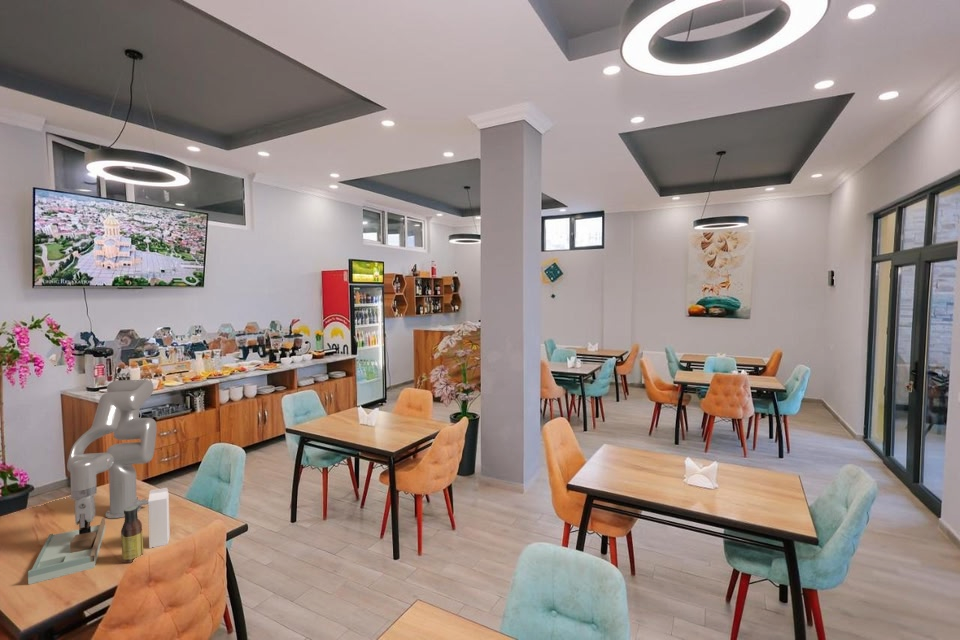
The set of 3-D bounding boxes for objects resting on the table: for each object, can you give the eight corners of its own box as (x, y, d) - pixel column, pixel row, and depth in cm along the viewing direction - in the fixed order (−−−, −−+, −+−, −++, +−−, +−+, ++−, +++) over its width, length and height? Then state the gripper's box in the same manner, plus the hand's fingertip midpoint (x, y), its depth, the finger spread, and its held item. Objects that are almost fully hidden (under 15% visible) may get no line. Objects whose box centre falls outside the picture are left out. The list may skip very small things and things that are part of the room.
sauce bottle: (130, 554, 168) (128, 503, 167) (147, 554, 169) (146, 503, 168) (117, 564, 162) (116, 511, 161) (135, 564, 162) (134, 511, 161)
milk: (167, 544, 175) (166, 490, 174) (148, 548, 172) (147, 493, 171) (169, 537, 180) (168, 484, 179) (151, 541, 177) (150, 487, 176)
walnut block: (96, 541, 172) (95, 531, 172) (91, 549, 167) (91, 538, 167) (76, 545, 170) (75, 534, 169) (70, 553, 164) (70, 542, 164)
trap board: (105, 529, 186) (105, 517, 186) (94, 567, 160) (94, 554, 159) (49, 541, 176) (49, 529, 176) (28, 584, 150) (27, 570, 150)
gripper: (93, 496, 168) (94, 543, 169) (99, 483, 181) (100, 527, 181) (67, 501, 164) (68, 549, 165) (74, 487, 176) (75, 532, 177)
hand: (85, 537), depth 173 cm, fingers closed
